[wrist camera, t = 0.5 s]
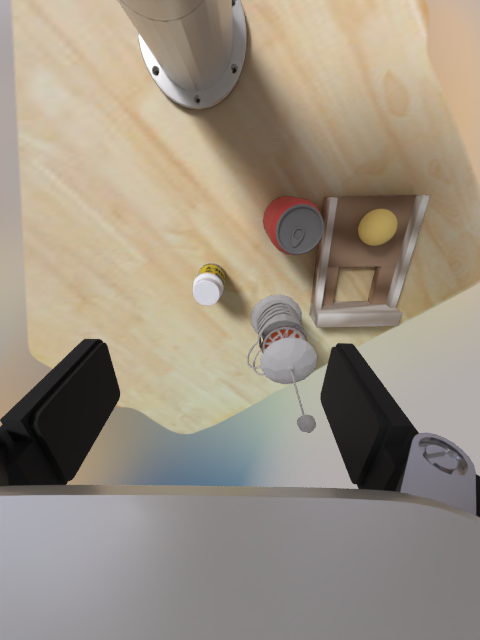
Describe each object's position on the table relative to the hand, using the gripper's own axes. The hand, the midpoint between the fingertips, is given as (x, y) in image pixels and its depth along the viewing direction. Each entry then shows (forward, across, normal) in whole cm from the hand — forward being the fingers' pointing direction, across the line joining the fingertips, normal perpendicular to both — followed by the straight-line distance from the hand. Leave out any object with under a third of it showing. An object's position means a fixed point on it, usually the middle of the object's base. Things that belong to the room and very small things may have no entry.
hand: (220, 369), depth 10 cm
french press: (+34, -8, +16) cm, 38 cm away
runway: (+34, -21, +4) cm, 40 cm away
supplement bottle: (+34, +4, +7) cm, 35 cm away
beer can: (+34, -8, -3) cm, 35 cm away
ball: (+30, -21, -2) cm, 36 cm away
